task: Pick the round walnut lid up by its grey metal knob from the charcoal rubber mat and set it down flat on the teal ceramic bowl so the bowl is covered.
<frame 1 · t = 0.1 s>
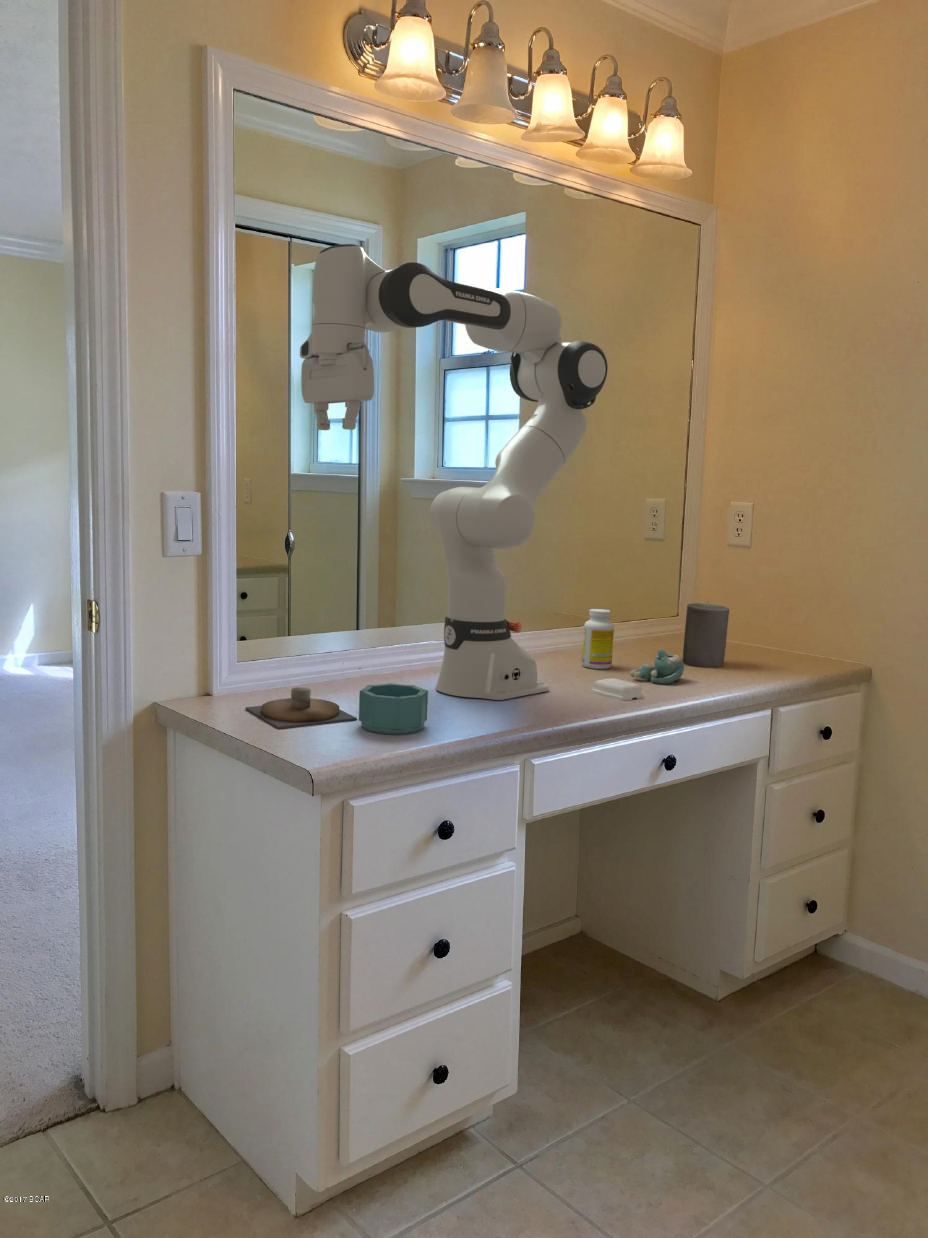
hand: (335, 429, 165), 48 cm above the countertop, fingers open, 8 cm apart
stuffed animal: (656, 681, 208), on the countertop
pillar candle: (703, 665, 228), on the countertop
lid: (300, 712, 165), resting on mat
bowl: (392, 726, 160), on the countertop
soap: (616, 697, 192), on the countertop
supplement bottle: (596, 667, 219), on the countertop
mat: (300, 714, 165), on the countertop
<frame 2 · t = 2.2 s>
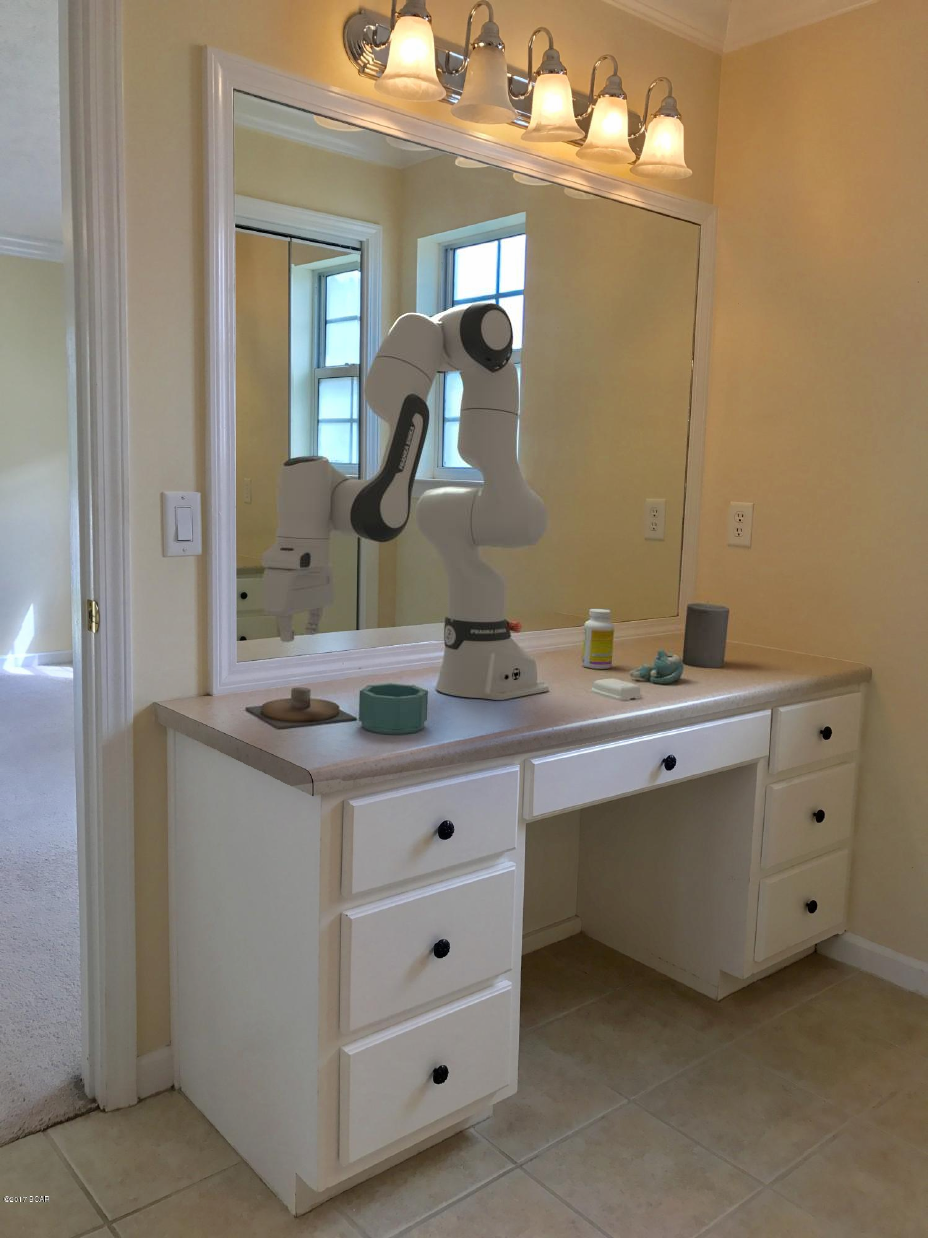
hand: (299, 637, 163), 13 cm above the countertop, fingers open, 8 cm apart
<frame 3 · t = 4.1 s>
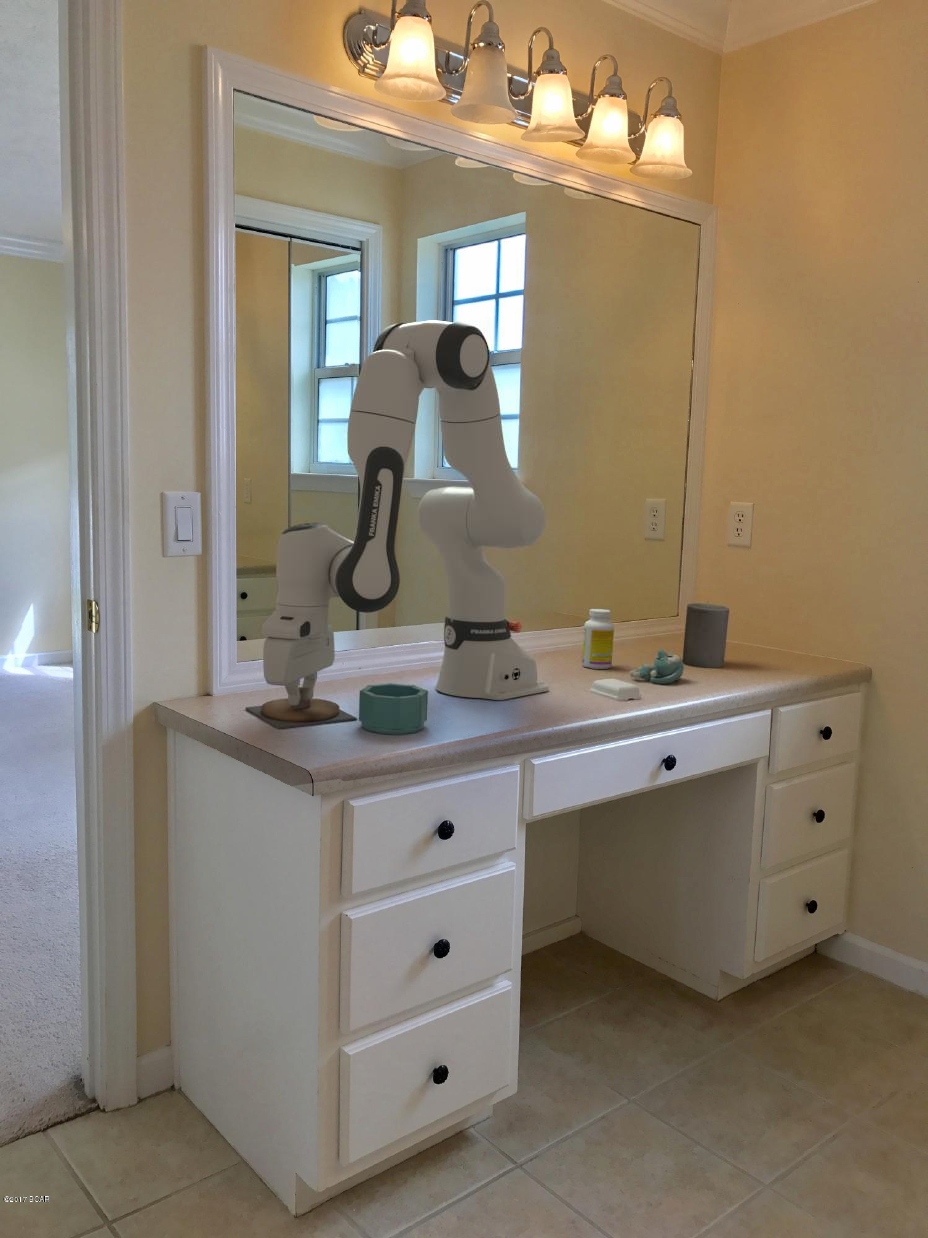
hand: (300, 701, 165), 2 cm above the countertop, fingers closed on lid, 3 cm apart
lid: (300, 712, 165), resting on mat, touching gripper
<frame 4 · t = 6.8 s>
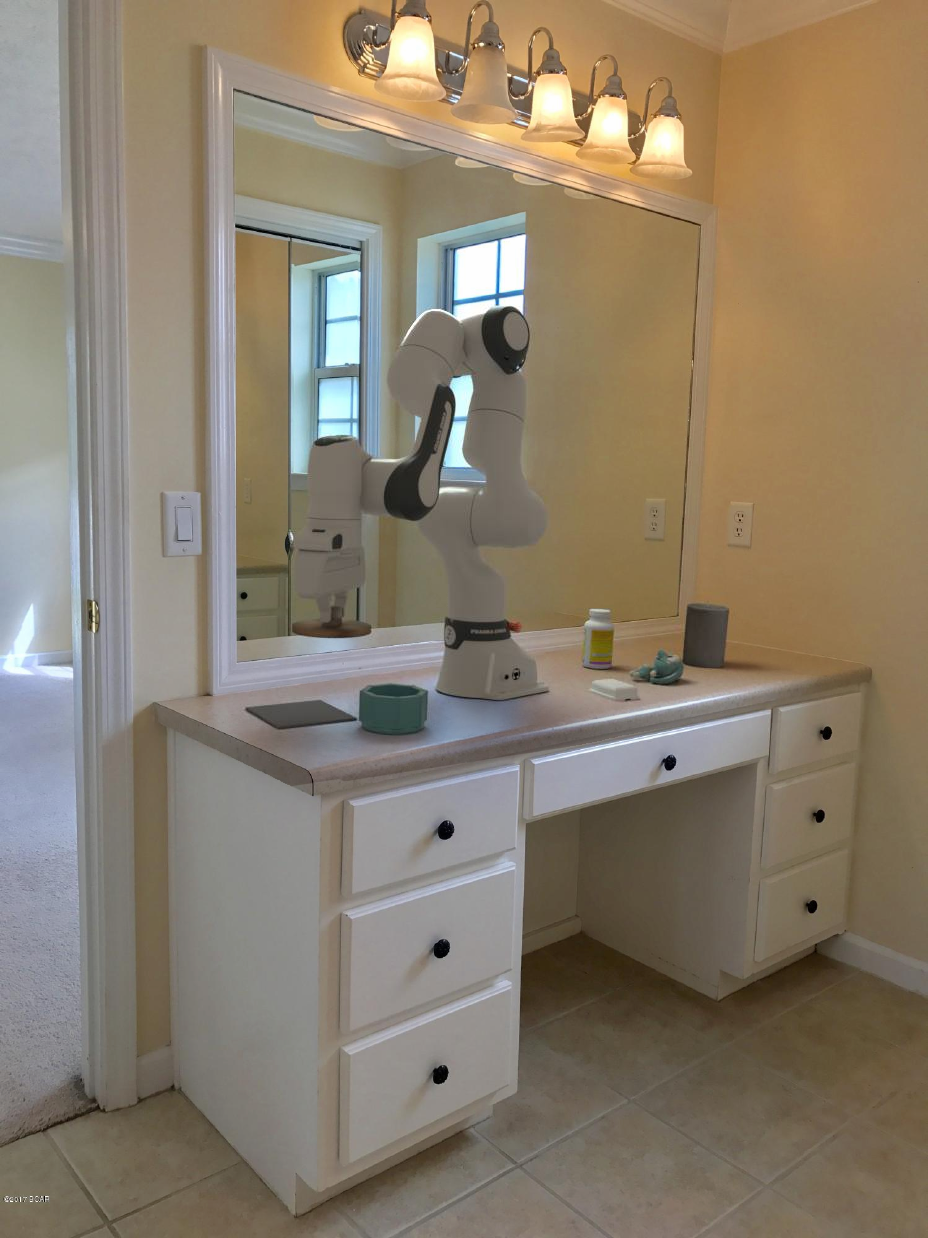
hand: (332, 619, 161), 17 cm above the countertop, fingers closed on lid, 3 cm apart
lid: (331, 631, 162), point 15 cm above the countertop, touching gripper
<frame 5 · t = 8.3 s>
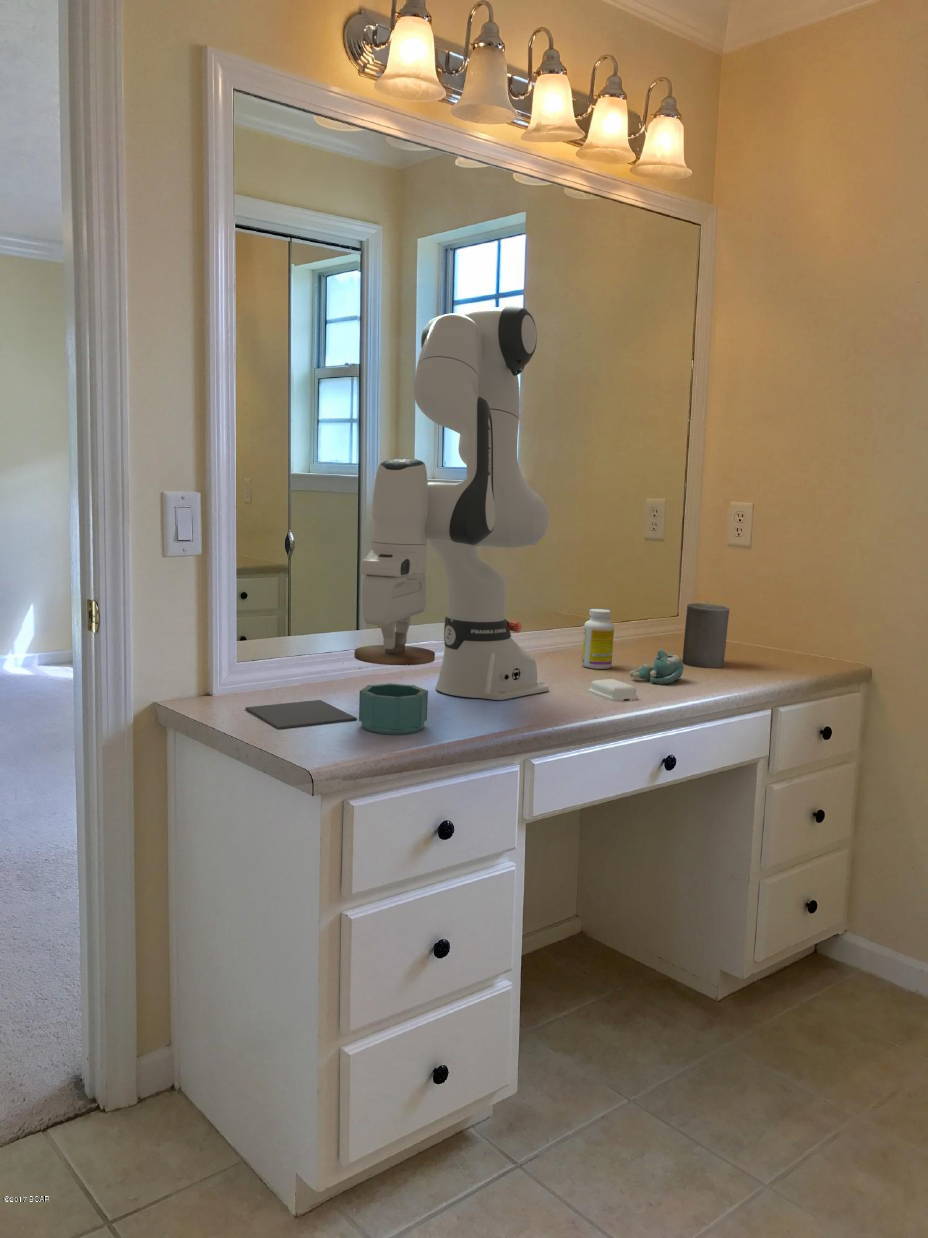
hand: (394, 646, 158), 13 cm above the countertop, fingers closed on lid, 3 cm apart
lid: (394, 657, 158), point 11 cm above the countertop, touching gripper
when the fingers open (9 cm above the countertop, at t = 9.6 s): lid drops 1 cm, resting on bowl.
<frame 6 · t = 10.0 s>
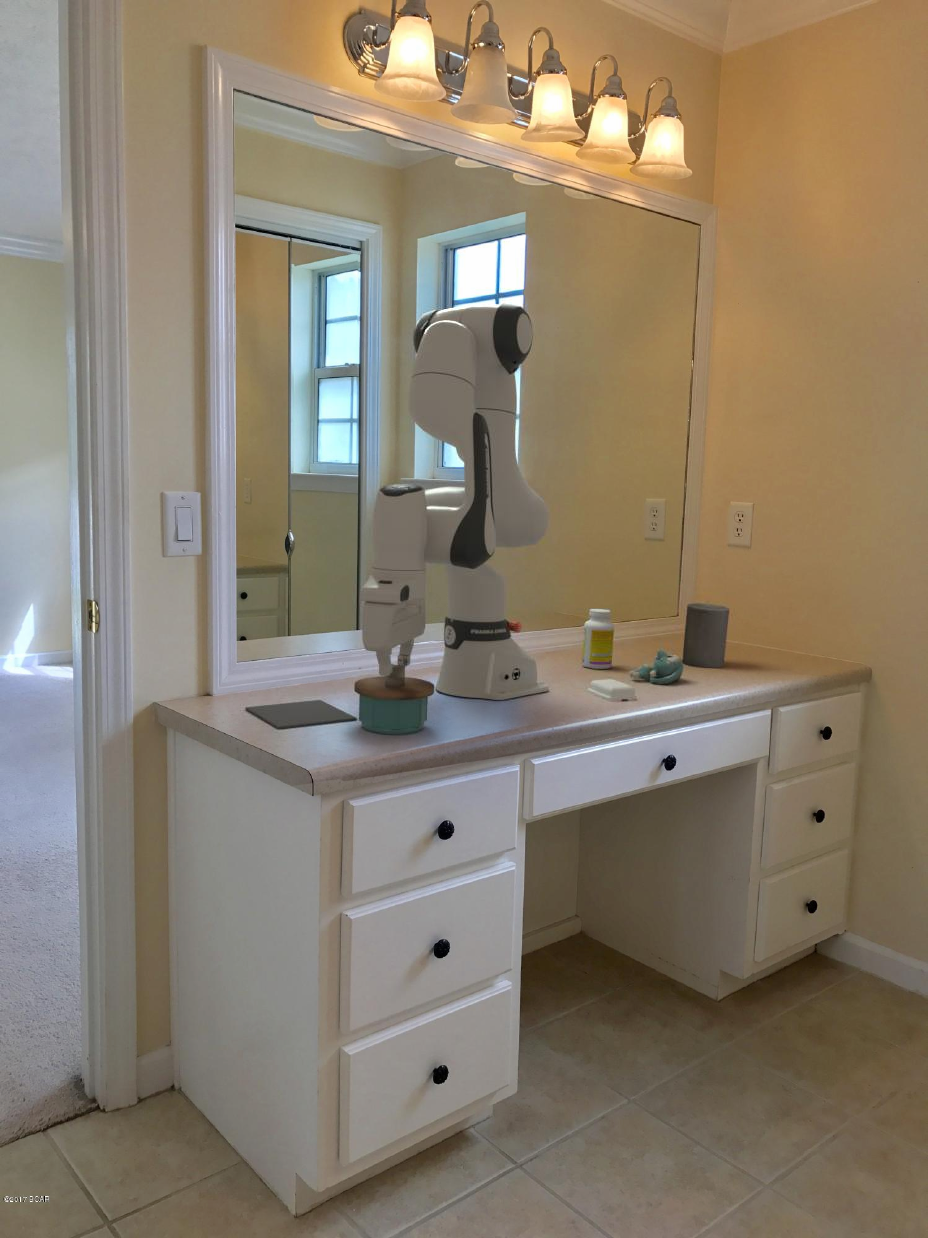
hand: (394, 670, 159), 9 cm above the countertop, fingers open, 7 cm apart
lid: (394, 690, 159), point 6 cm above the countertop, touching bowl
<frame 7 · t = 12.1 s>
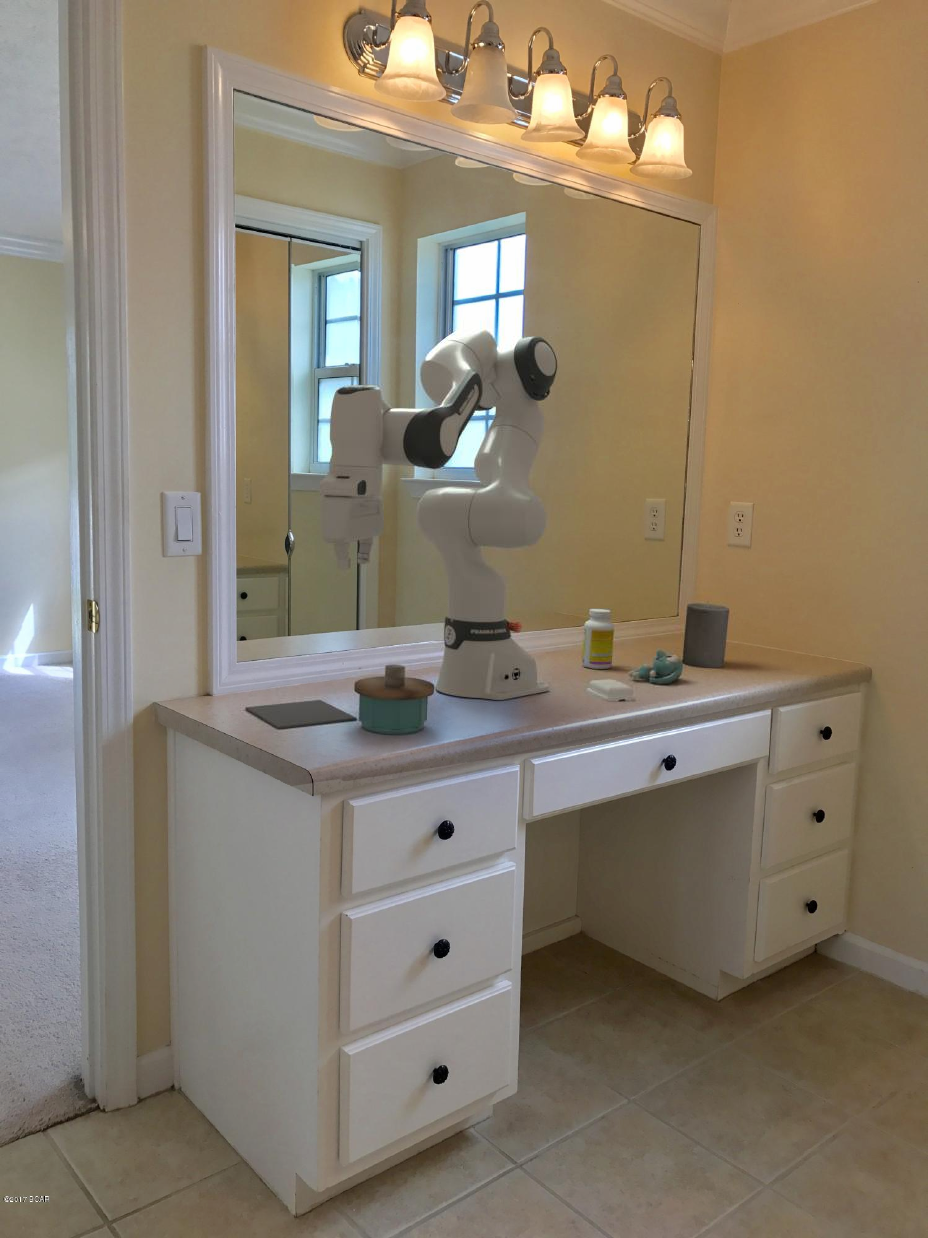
hand: (353, 566, 165), 25 cm above the countertop, fingers open, 8 cm apart
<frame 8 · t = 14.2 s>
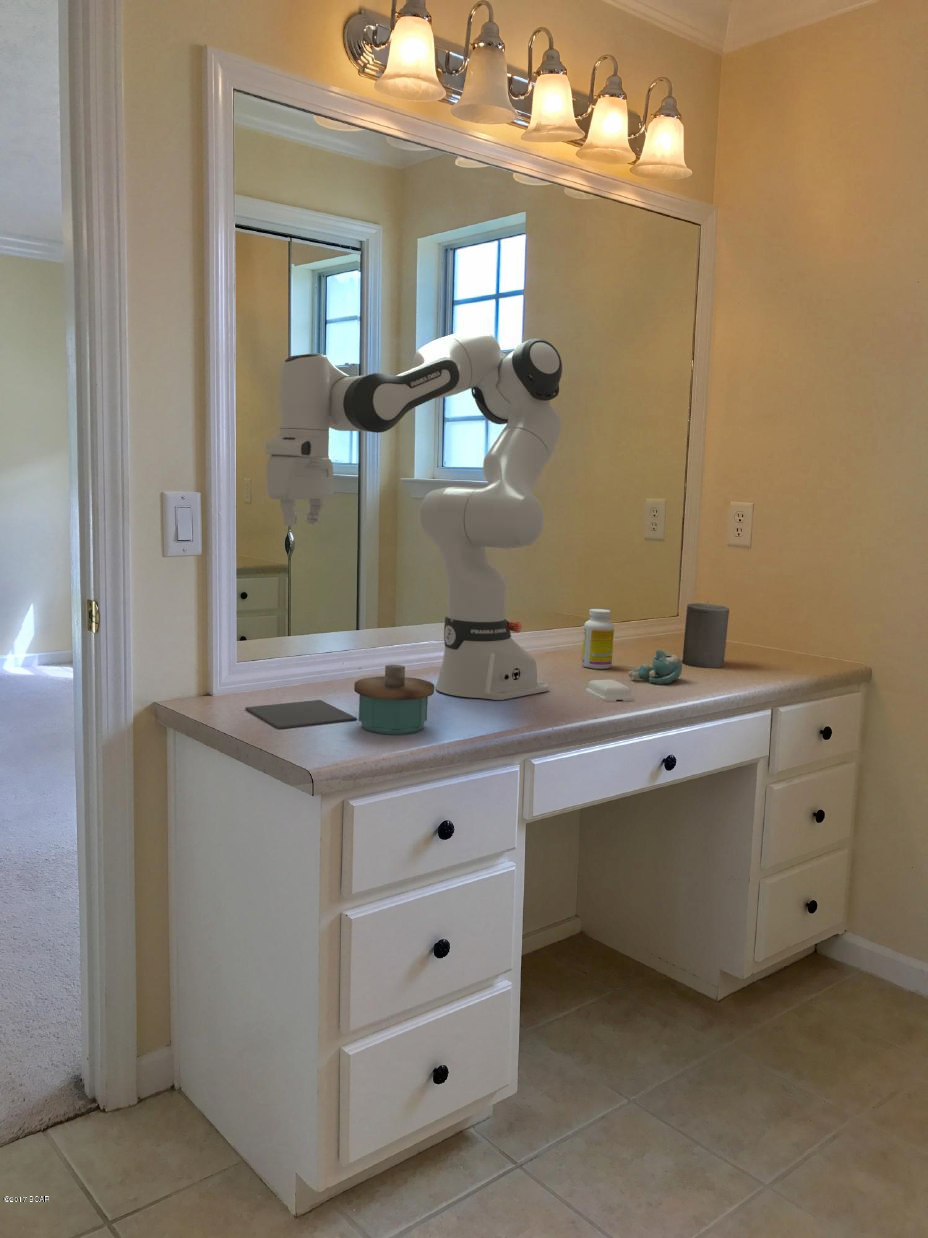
hand: (301, 524, 175), 31 cm above the countertop, fingers open, 8 cm apart
at the end: lid 0.1 cm off-centre on the bowl, point 6.0 cm above the bowl's base; lid tilted 0°; the gripper is holding nothing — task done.
